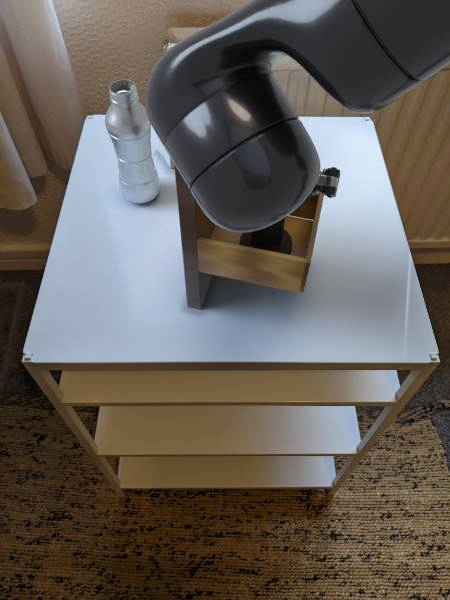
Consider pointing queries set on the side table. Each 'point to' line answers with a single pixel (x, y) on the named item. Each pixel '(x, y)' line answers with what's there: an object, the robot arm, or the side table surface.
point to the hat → (269, 239)
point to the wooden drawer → (242, 249)
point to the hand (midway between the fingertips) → (275, 177)
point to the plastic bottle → (131, 143)
